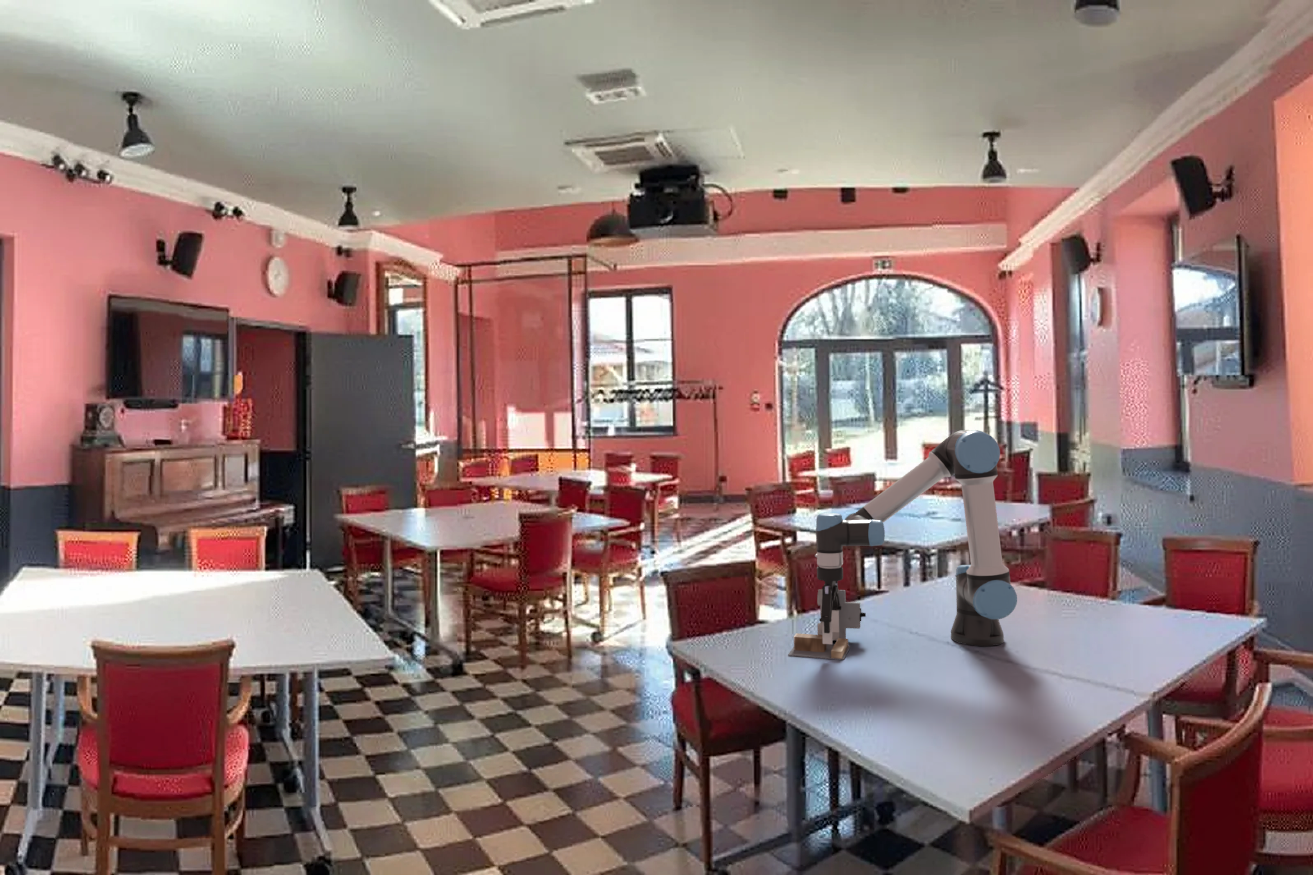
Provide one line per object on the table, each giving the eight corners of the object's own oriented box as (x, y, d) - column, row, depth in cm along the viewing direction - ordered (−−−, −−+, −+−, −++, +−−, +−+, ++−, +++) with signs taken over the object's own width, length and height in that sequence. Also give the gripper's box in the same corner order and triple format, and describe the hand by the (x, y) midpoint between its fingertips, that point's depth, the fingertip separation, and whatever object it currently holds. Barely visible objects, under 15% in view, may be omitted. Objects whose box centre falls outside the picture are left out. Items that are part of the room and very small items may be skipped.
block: (826, 635, 251) (796, 633, 254) (824, 638, 247) (793, 636, 250) (826, 648, 251) (796, 646, 254) (824, 652, 247) (793, 650, 251)
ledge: (848, 645, 254) (848, 639, 254) (841, 658, 241) (841, 651, 241) (838, 644, 255) (838, 638, 255) (831, 657, 242) (831, 650, 242)
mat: (849, 647, 254) (849, 645, 254) (843, 660, 241) (843, 658, 241) (797, 643, 259) (797, 641, 259) (788, 655, 246) (788, 654, 246)
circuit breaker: (865, 641, 254) (864, 591, 256) (817, 639, 258) (817, 589, 260) (866, 639, 261) (865, 590, 263) (819, 637, 265) (819, 589, 267)
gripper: (823, 558, 261) (824, 626, 262) (809, 573, 238) (811, 648, 238) (848, 559, 258) (849, 628, 259) (836, 574, 235) (837, 650, 236)
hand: (831, 637), depth 249 cm, fingers open, 13 cm apart
